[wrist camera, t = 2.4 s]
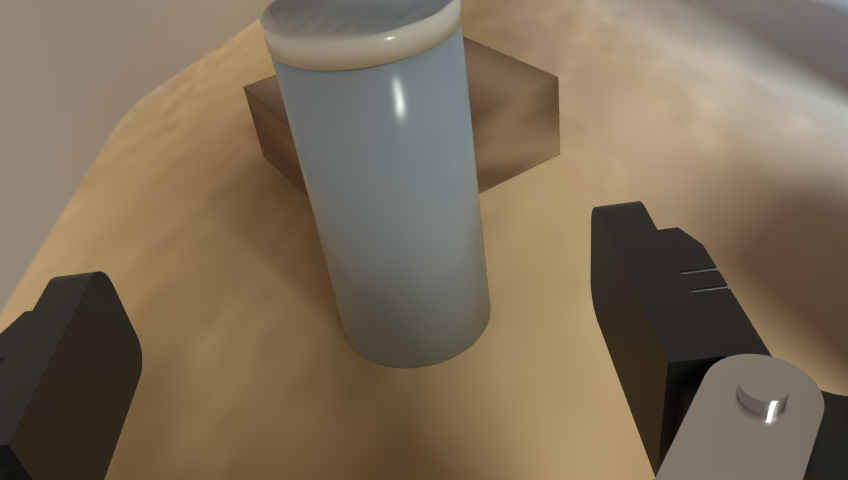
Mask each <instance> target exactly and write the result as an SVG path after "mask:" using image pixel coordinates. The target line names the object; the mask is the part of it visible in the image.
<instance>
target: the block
mask: <svg viewBox="0 0 848 480" xmlns="http://www.w3.org/2000/svg"><path fill="white" fill-rule="evenodd" d="M463 43H464V53H465V63H466V73H467V83H468V92H469V102H470V112H471V122H472V132H473V142H474V152H475V162H476V172H477V181H478V191H479V193H480V192H482V191H485V190H487V189H489V188H491V187H493V186H495V185H497V184H499V183H501V182H503V181H505V180H507V179H509V178H511V177H513V176H515V175H517V174H519V173H522V172H524V171H526V170H528V169H530V168H532V167H534V166H536V165H538V164H540V163H542V162H544V161H546V160H548V159H550V158H552V157H554V156H556V155H559V154H560V133H559V89H558V77H556V76H554V75H552V74H549V73H547V72H545V71H542V70H540V69H538V68H535V67H533V66H531V65H528V64H526V63H524V62H521V61H519V60H517V59H514V58H512V57H510V56H507V55H505V54H503V53H500V52H498V51H496V50H493V49H491V48H489V47H486V46H484V45H482V44H479V43H477V42H475V41H472V40H470V39H467V38H465V37H463ZM244 90H245V94H246V97H247V101H248V104H249V107H250V111H251V114H252V118H253V121H254V124H255V128H256V131H257V134H258V138H259V141H260V145H261V148H262V151H263V155H264V156H265V157H266V158H267V159H268V160H269V161H270V162H271V163H272V164H273V165H274V166H275V167H277V168H278V169H279V170H280V171H281V172H282V173H283V174H284V175H285V176H286V177H287V178H288V179H289V180H291V181H292V182H293V183H294V184H295V185H296V186H297V187H298V188H299V189H300V190H301V191H302V192H304V193H305V194H306V195H307V196H308V193H307V189H306V185H305V181H304V177H303V174H302V170H301V166H300V162H299V159H298V155H297V151H296V147H295V143H294V140H293V136H292V132H291V128H290V124H289V121H288V117H287V113H286V109H285V106H284V102H283V98H282V94H281V90H280V87H279V83H278V79H277V75H275V76H272V77H269V78H266V79H264V80H261V81H258V82H255V83H253V84H250V85H247V86H244ZM308 197H309V196H308Z"/></svg>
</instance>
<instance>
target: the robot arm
mask: <svg viewBox="0 0 848 480" xmlns="http://www.w3.org/2000/svg"><path fill="white" fill-rule="evenodd" d="M591 293H592V300H593V306H594V310H595V314H596V318H597V321H598V323H599V326H600V329H601V331H602V334H603V337H604V340H605V342H606V345H607V348H608V350H609V353H610V356H611V359H612V361H613V364H614V367H615V369H616V372H617V375H618V378H619V380H620V383H621V386H622V388H623V391H624V394H625V396H626V399H627V402H628V405H629V407H630V410H631V413H632V415H633V418H634V421H635V424H636V426H637V429H638V432H639V434H640V437H641V440H642V442H643V445H644V448H645V451H646V453H647V456H648V459H649V461H650V464H651V467H652V470H653V472H654V475H655V479H654V480H848V396H842V395H836V394H832V393H828V392H824V391H821V390H820V389H819V387H818V386H817V384H816V383H815V382H814V381H813V380H812V378H811V377H809V376H808V375H807V374H806V373H805V372H804V371H802V370H801V369H799V368H797V367H796V366H794V365H792V364H790V363H788V362H786V361H783V360H781V359H778V358H775V357H772V356H771V354H770V353H769V351H768V349H767V348H766V346H765V345H764V343H763V341H762V340H761V338H760V336H759V335H758V333H757V332H756V330H755V328H754V327H753V325H752V324H751V322H750V320H749V319H748V317H747V315H746V314H745V312H744V311H743V309H742V307H741V306H740V304H739V303H738V301H737V299H736V298H735V296H734V294H733V293H732V291H731V290H730V289H729V290H728V287H727V283H726V282H725V280H724V278H723V277H722V275H721V274H720V272H719V271H717V270H716V265H715V264H714V262H713V261H712V259H711V257H710V256H709V254H708V253H707V251H706V249H705V248H704V246H703V245H702V244H701V243H699V242H698V241H697V240H695V239H694V238H692V237H691V236H689V235H688V234H687V233H685V232H684V231H682V230H681V229H679V228H678V227H677V228H669V229H662V230H657V228H656V226H655V225H654V223H653V221H652V219H651V217H650V216H649V214H648V212H647V210H646V208H645V206H644V205H643V203H642V202H640V201H637V202H630V203H622V204H615V205H607V206H600V207H594V208H593V210H592V217H591ZM141 370H142V352H141V347H140V343H139V340H138V337H137V335H136V333H135V331H134V329H133V327H132V324H131V322H130V320H129V318H128V316H127V314H126V312H125V310H124V307H123V305H122V303H121V301H120V299H119V297H118V295H117V293H116V290H115V288H114V286H113V284H112V282H111V280H110V279H109V277H108V276H107V275H106V274H105V273H103V272H101V271H98V272H91V273H83V274H76V275H68V276H60V277H55V278H52V279H51V280H50V281H49V283H48V284H47V286H46V288H45V290H44V291H43V293H42V295H41V297H40V298H39V300H38V302H37V304H36V305H35V307H34V309H33V311H26V312H24V313H23V314H22V315H21V316H20V317H18V318H17V319H16V320H15V321H14V322H13V323H12V324H11V325H10V326H9V327H8V328H6V329H5V330H4V331H3V332H2V333H1V334H0V480H104V479H105V476H106V473H107V470H108V467H109V464H110V462H111V459H112V456H113V453H114V450H115V447H116V444H117V442H118V439H119V436H120V433H121V430H122V427H123V424H124V422H125V419H126V416H127V413H128V410H129V407H130V404H131V402H132V399H133V396H134V393H135V390H136V387H137V384H138V382H139V379H140V375H141Z"/></svg>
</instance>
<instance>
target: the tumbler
mask: <svg viewBox="0 0 848 480" xmlns="http://www.w3.org/2000/svg"><path fill="white" fill-rule="evenodd" d="M462 20H463V16H462V6H461V0H274V1H273V2H272V3H271V4H269V5H268V6H267V7H266V8H265V10H264V11H263V13H262V15H261V18H260V21H261V26H262V29H263V33H264V37H265V41H266V44H267V48H268V52H269V53H270V55H271V56H272V60H273V64H274V68H275V71H276V75H277V79H278V83H279V87H280V90H281V94H282V98H283V102H284V106H285V109H286V113H287V117H288V121H289V124H290V128H291V132H292V136H293V140H294V143H295V147H296V151H297V155H298V159H299V162H300V166H301V170H302V174H303V177H304V181H305V185H306V189H307V193H308V196H309V200H310V204H311V208H312V212H313V215H314V219H315V223H316V227H317V231H318V234H319V238H320V242H321V246H322V249H323V253H324V257H325V261H326V265H327V268H328V272H329V276H330V280H331V284H332V287H333V291H334V295H335V299H336V302H337V306H338V310H339V314H340V318H341V321H342V325H343V329H344V333H345V336H346V338H347V341H348V343H349V344H350V345H351V347H352V348H353V349H354V350H355V351H356V352H357V353H358V354H360V355H361V356H363V357H364V358H366V359H368V360H370V361H372V362H375V363H377V364H380V365H385V366H389V367H397V368H416V367H424V366H429V365H433V364H437V363H440V362H443V361H446V360H448V359H451V358H453V357H455V356H456V355H458V354H460V353H462V352H463V351H465V350H466V349H468V348H469V347H470V346H471V345H472V344H474V343H475V342H476V340H477V339H478V338H479V337H480V336H481V335H482V333H483V332H484V330H485V328H486V326H487V324H488V321H489V318H490V300H489V290H488V280H487V271H486V261H485V251H484V241H483V231H482V221H481V211H480V201H479V191H478V181H477V172H476V162H475V152H474V142H473V132H472V122H471V112H470V102H469V92H468V83H467V73H466V63H465V53H464V43H463V33H462Z"/></svg>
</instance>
